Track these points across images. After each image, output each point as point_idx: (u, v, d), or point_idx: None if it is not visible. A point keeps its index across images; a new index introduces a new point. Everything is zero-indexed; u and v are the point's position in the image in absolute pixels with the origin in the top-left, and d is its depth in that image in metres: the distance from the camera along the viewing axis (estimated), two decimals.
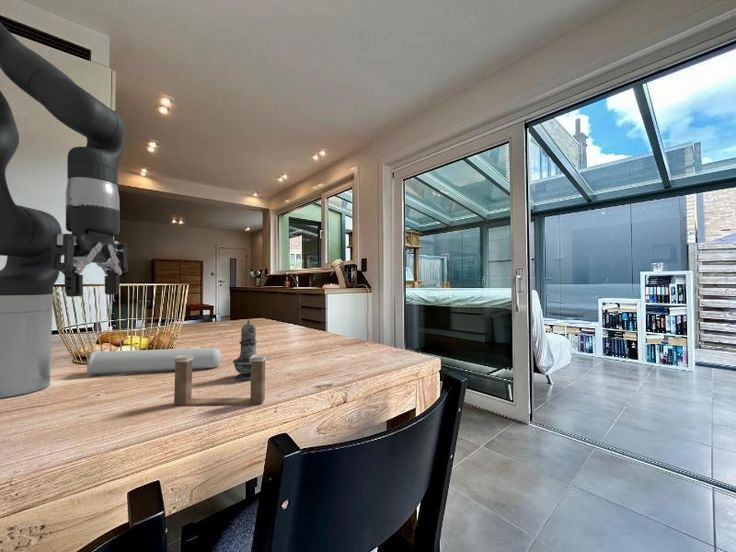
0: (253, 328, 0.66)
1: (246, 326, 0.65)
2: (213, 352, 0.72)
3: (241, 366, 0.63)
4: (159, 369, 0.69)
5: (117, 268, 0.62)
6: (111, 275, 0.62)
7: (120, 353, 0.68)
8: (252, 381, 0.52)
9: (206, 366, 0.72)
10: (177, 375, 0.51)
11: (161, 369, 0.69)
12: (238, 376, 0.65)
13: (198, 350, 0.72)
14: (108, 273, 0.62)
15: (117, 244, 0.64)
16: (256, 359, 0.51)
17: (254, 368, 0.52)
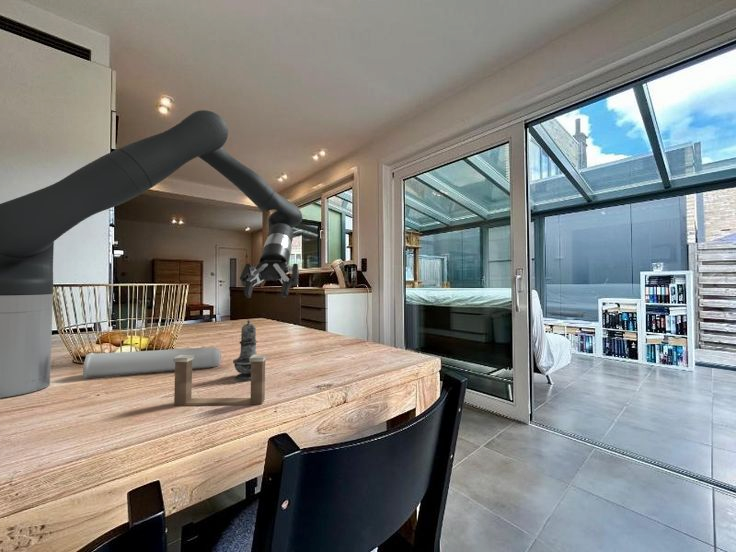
0: (253, 328, 0.66)
1: (246, 326, 0.65)
2: (214, 351, 0.73)
3: (241, 366, 0.64)
4: (159, 370, 0.69)
5: None
6: (252, 285, 0.80)
7: (118, 355, 0.66)
8: (252, 381, 0.52)
9: (207, 365, 0.72)
10: (177, 375, 0.51)
11: (161, 370, 0.69)
12: (238, 376, 0.65)
13: (199, 350, 0.72)
14: (251, 282, 0.80)
15: None
16: (256, 359, 0.51)
17: (254, 368, 0.52)
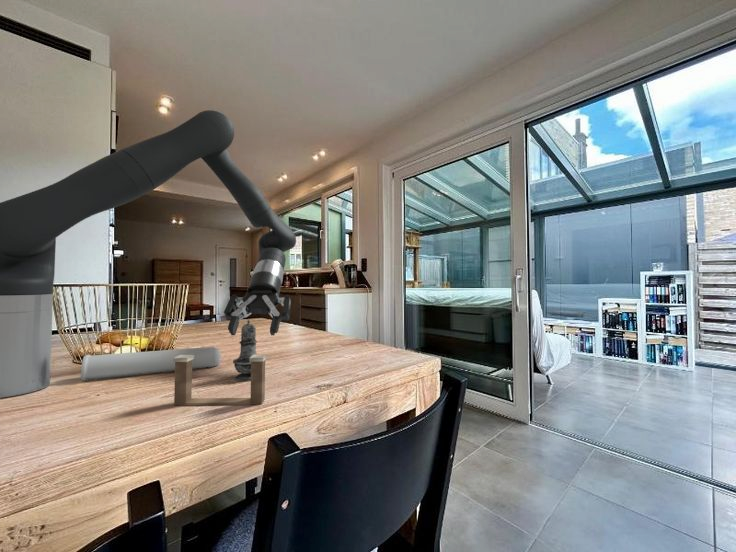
0: (253, 328, 0.66)
1: (246, 326, 0.65)
2: (214, 351, 0.74)
3: (241, 366, 0.64)
4: (159, 370, 0.68)
5: None
6: (237, 320, 0.71)
7: (116, 356, 0.65)
8: (252, 381, 0.52)
9: (208, 365, 0.73)
10: (177, 375, 0.51)
11: (161, 370, 0.68)
12: (238, 376, 0.65)
13: (199, 350, 0.72)
14: (237, 316, 0.71)
15: None
16: (256, 359, 0.51)
17: (254, 368, 0.52)
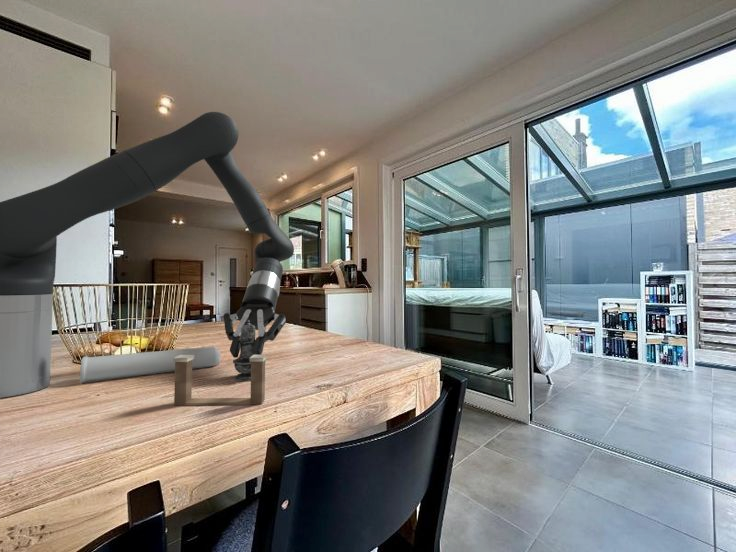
0: (252, 328, 0.66)
1: (246, 326, 0.65)
2: (215, 350, 0.74)
3: (241, 366, 0.63)
4: (160, 371, 0.68)
5: None
6: (240, 340, 0.67)
7: (116, 357, 0.64)
8: (252, 381, 0.52)
9: (208, 365, 0.73)
10: (177, 375, 0.51)
11: (162, 371, 0.68)
12: (238, 376, 0.65)
13: (199, 349, 0.73)
14: (239, 337, 0.67)
15: None
16: (256, 359, 0.51)
17: (254, 368, 0.52)
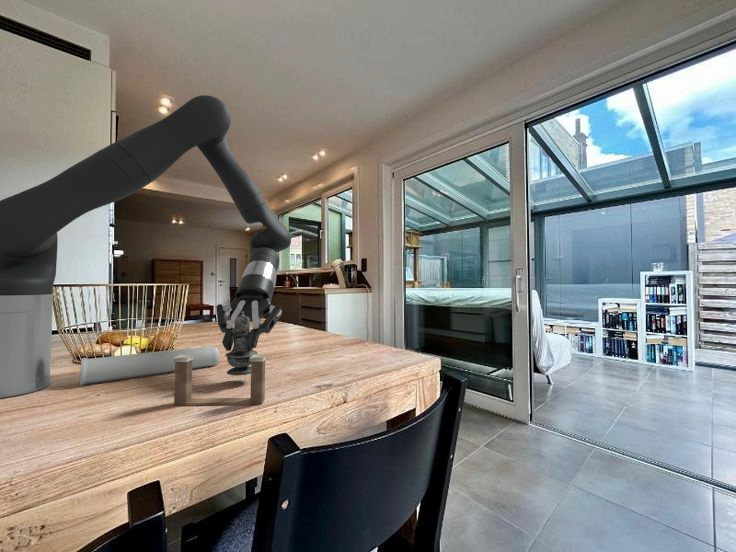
0: (247, 319, 0.62)
1: (240, 317, 0.62)
2: (215, 350, 0.75)
3: (234, 359, 0.60)
4: (161, 371, 0.67)
5: None
6: (233, 332, 0.63)
7: (116, 358, 0.63)
8: (252, 381, 0.52)
9: (209, 364, 0.73)
10: (177, 375, 0.51)
11: (163, 371, 0.68)
12: (231, 370, 0.61)
13: (199, 349, 0.73)
14: (233, 329, 0.63)
15: None
16: (256, 359, 0.51)
17: (254, 368, 0.52)
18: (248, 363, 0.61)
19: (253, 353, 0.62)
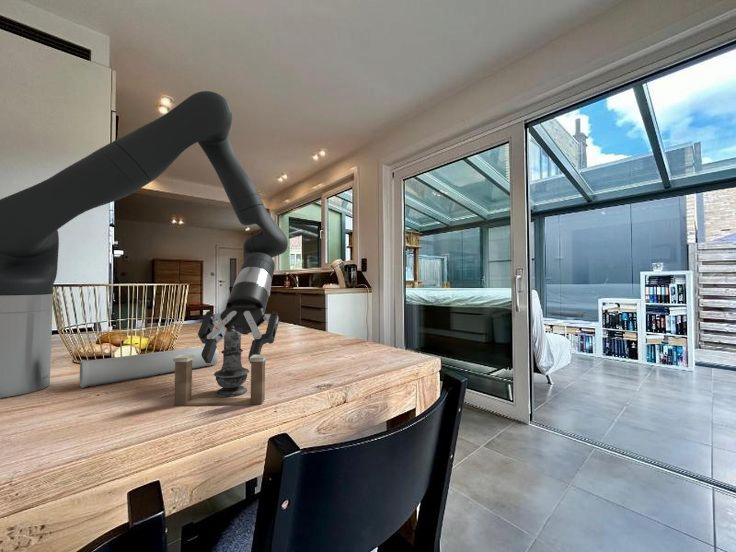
0: (237, 335, 0.57)
1: (229, 333, 0.56)
2: None
3: (223, 379, 0.55)
4: (162, 372, 0.67)
5: None
6: (214, 343, 0.58)
7: (117, 359, 0.62)
8: (252, 381, 0.52)
9: (209, 364, 0.74)
10: (177, 375, 0.51)
11: (164, 371, 0.67)
12: (220, 391, 0.56)
13: (199, 349, 0.73)
14: (214, 339, 0.58)
15: None
16: (256, 359, 0.51)
17: (254, 368, 0.52)
18: (239, 383, 0.56)
19: (244, 372, 0.57)
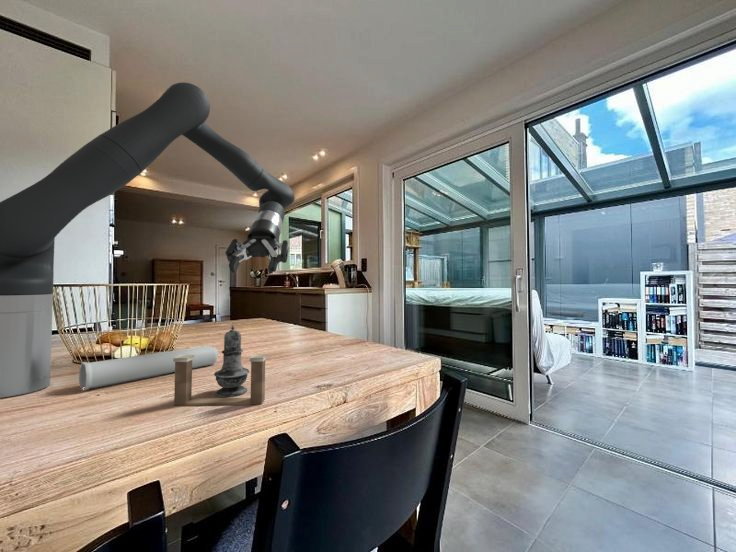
0: (237, 335, 0.57)
1: (230, 333, 0.56)
2: (214, 349, 0.76)
3: (223, 379, 0.55)
4: (164, 372, 0.67)
5: None
6: (238, 260, 0.76)
7: (120, 361, 0.61)
8: (252, 381, 0.52)
9: (209, 363, 0.74)
10: (177, 375, 0.51)
11: (166, 372, 0.67)
12: (220, 391, 0.56)
13: (199, 349, 0.73)
14: (237, 257, 0.76)
15: None
16: (256, 359, 0.51)
17: (254, 368, 0.52)
18: (239, 383, 0.56)
19: (244, 372, 0.57)
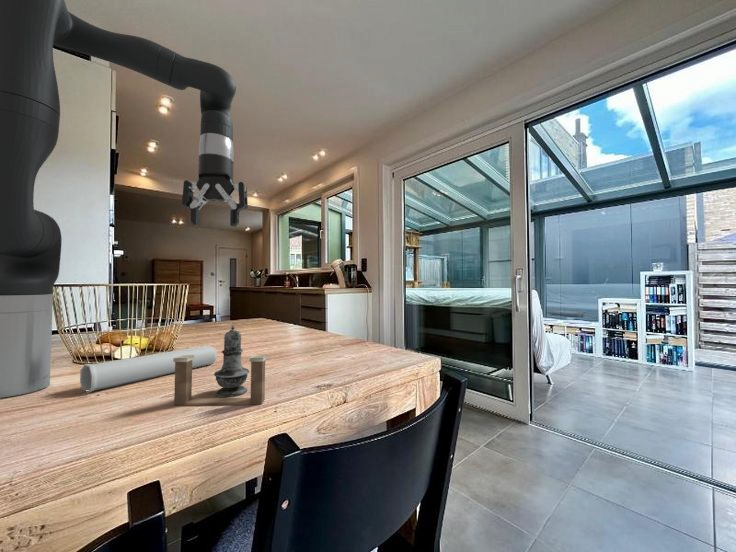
0: (237, 335, 0.57)
1: (230, 333, 0.56)
2: (213, 349, 0.76)
3: (223, 379, 0.55)
4: (166, 372, 0.67)
5: None
6: (198, 210, 0.75)
7: (123, 362, 0.60)
8: (252, 381, 0.52)
9: (208, 363, 0.75)
10: (177, 375, 0.51)
11: (168, 372, 0.67)
12: (220, 391, 0.56)
13: (199, 349, 0.73)
14: (196, 207, 0.74)
15: None
16: (256, 359, 0.51)
17: (254, 368, 0.52)
18: (239, 383, 0.56)
19: (244, 372, 0.57)
